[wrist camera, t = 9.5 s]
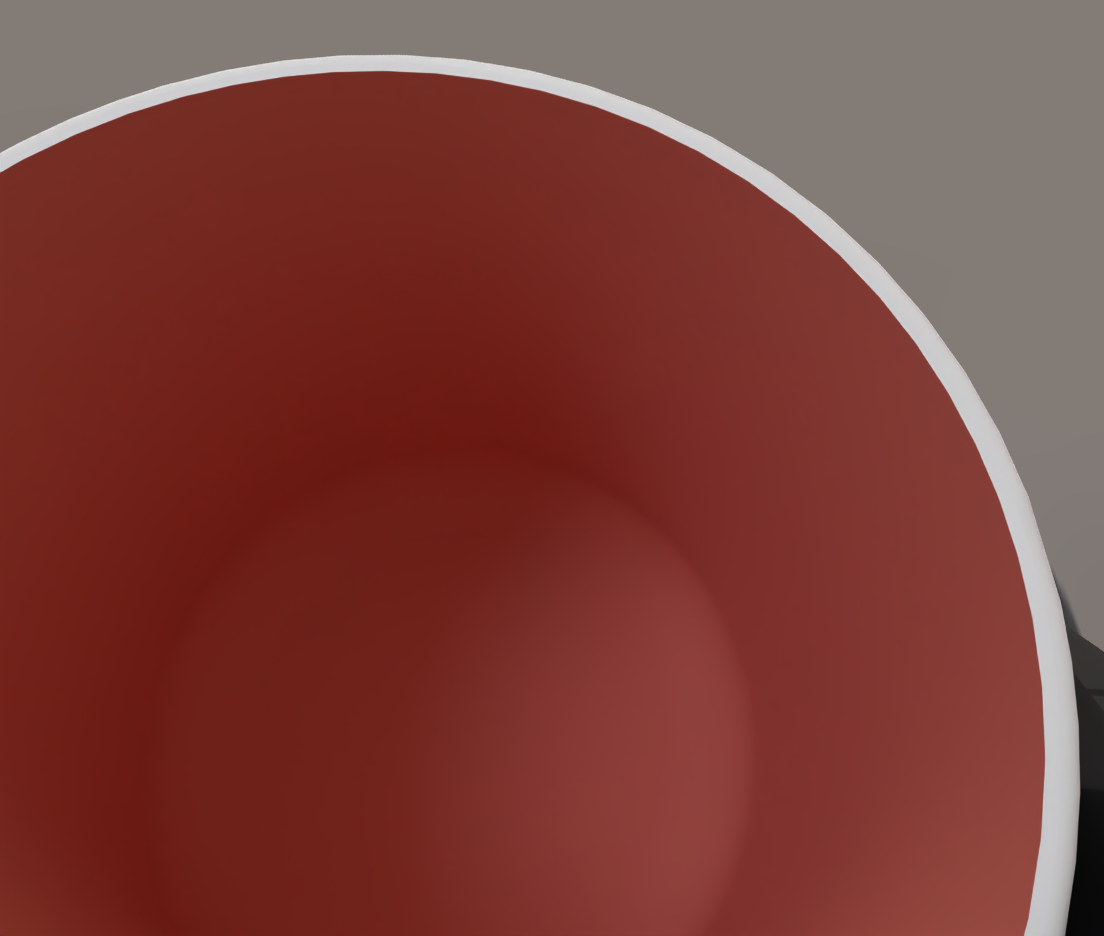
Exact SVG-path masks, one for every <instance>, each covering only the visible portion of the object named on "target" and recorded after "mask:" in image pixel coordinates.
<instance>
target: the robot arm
mask: <svg viewBox="0 0 1104 936" xmlns="http://www.w3.org/2000/svg"><path fill="white" fill-rule="evenodd" d="M1066 633H1067V638H1068V643H1069V649H1070V654H1071V659H1072V667H1073V677H1074V686H1075V696H1076V705H1077V714H1078V724H1079V763H1080V803H1079V819H1078V835H1077V852H1076V865H1075V871H1074V878H1073V885H1072V892H1071V898H1070V905H1069V912H1068V918H1067V925H1066V932H1065V936H1104V652H1103V651H1102V650H1100V649H1099V648H1098V647H1096V646H1095V645H1093V644H1092V643H1090V642H1089V641H1087V640H1086V639H1085V638H1083V637H1082V636H1080V635H1079V634H1077V633H1076V632H1074V631H1073V630H1071V629H1070V628H1066Z"/></svg>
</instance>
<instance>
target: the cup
mask: <svg viewBox="0 0 1104 936" xmlns="http://www.w3.org/2000/svg"><path fill="white" fill-rule="evenodd" d="M1079 803H1080V763H1079V724H1078V714H1077V705H1076V696H1075V686H1074V677H1073V667H1072V659H1071V654H1070V649H1069V643H1068V638H1067V633H1066V627H1065V622H1064V617H1063V611H1062V606H1061V601H1060V598H1059V595H1058V591H1057V588H1056V585H1055V582H1054V578H1053V575H1052V572H1051V569H1050V565H1049V562H1048V559H1047V556H1046V553H1045V549H1044V546H1043V543H1042V539H1041V536H1040V533H1039V530H1038V526H1037V523H1036V520H1035V517H1034V514H1033V511H1032V507H1031V504H1030V500H1029V497H1028V495H1027V493H1026V491H1025V489H1024V486H1023V484H1022V481H1021V479H1020V477H1019V475H1018V472H1017V470H1016V468H1015V466H1014V463H1013V461H1012V459H1011V457H1010V455H1009V452H1008V450H1007V448H1006V446H1005V443H1004V441H1003V439H1002V437H1001V434H1000V432H999V431H998V429H997V427H996V425H995V424H994V422H993V420H992V418H991V417H990V415H989V413H988V411H987V410H986V408H985V406H984V404H983V403H982V401H981V399H980V397H979V396H978V394H977V392H976V390H975V389H974V387H973V385H972V383H971V382H970V380H969V378H968V376H967V375H966V373H965V371H964V370H963V369H962V367H961V366H960V364H959V363H958V361H957V360H956V359H955V357H954V356H953V355H952V353H951V352H950V350H949V349H948V347H947V346H946V345H945V343H944V342H943V341H942V339H941V338H940V336H939V335H938V333H937V332H936V331H935V329H934V328H933V326H932V325H931V323H930V322H929V321H928V319H927V318H926V316H925V315H924V314H923V313H922V312H921V311H920V309H919V308H918V307H917V306H916V305H915V304H914V302H912V300H911V299H910V298H909V297H908V296H907V295H906V293H905V292H904V291H903V290H902V289H901V288H900V287H899V285H898V284H897V283H896V282H895V281H894V280H893V279H892V278H891V276H890V275H889V274H888V273H887V272H886V271H885V269H884V268H883V267H882V266H881V265H880V264H879V263H878V262H877V261H876V260H875V259H874V258H873V257H872V256H871V255H870V254H869V253H867V251H865V250H864V249H863V248H862V247H861V246H860V245H859V244H858V243H857V242H856V241H855V240H854V239H852V238H851V237H850V236H849V235H848V234H847V233H846V232H845V231H844V230H843V229H842V228H841V227H840V226H839V225H837V224H836V223H835V222H834V221H833V220H832V219H831V218H830V217H829V216H828V215H826V214H825V213H824V212H823V211H821V210H820V209H819V208H817V207H816V206H815V205H813V204H812V203H811V202H809V201H808V200H807V199H805V198H804V197H802V196H801V195H800V194H799V193H797V192H796V191H795V190H793V189H792V188H790V187H789V186H788V185H787V184H785V183H784V182H783V181H781V180H780V179H779V178H777V177H776V176H775V175H773V174H772V173H770V172H769V171H767V170H766V169H764V168H762V167H761V166H759V165H757V164H756V163H754V162H752V161H751V160H749V159H747V158H746V157H744V156H742V155H741V154H739V153H738V152H736V151H734V150H733V149H731V148H729V147H727V146H726V145H724V144H723V143H721V142H719V141H718V140H716V139H715V138H713V137H711V136H709V135H706V134H704V133H702V132H700V131H698V130H696V129H694V128H692V127H690V126H688V125H686V124H683V123H681V122H679V121H677V120H675V119H673V118H671V117H669V116H667V115H664V114H662V113H660V112H658V111H656V110H654V109H652V108H648V107H646V106H644V105H641V104H638V103H635V102H632V101H629V100H627V99H624V98H621V97H619V96H616V95H613V94H610V93H607V92H605V91H602V90H599V89H596V88H594V87H591V86H588V85H584V84H579V83H576V82H572V81H568V80H564V79H561V78H557V77H553V76H549V75H545V74H541V73H537V72H534V71H529V70H525V69H519V68H513V67H507V66H500V65H494V64H488V63H482V62H476V61H470V60H462V59H450V58H436V57H423V56H409V55H349V56H348V55H343V56H331V57H319V58H308V59H297V60H286V61H279V62H273V63H266V64H260V65H254V66H248V67H242V68H236V69H230V70H224V71H220V72H216V73H212V74H208V75H204V76H200V77H196V78H192V79H188V80H184V81H180V82H176V83H172V84H168V85H164V86H161V87H158V88H155V89H152V90H149V91H146V92H142V93H139V94H136V95H133V96H130V97H127V98H124V99H121V100H117V101H115V102H112V103H110V104H107V105H105V106H102V107H100V108H97V109H94V110H92V111H89V112H87V113H84V114H82V115H79V116H77V117H74V118H71V119H69V120H67V121H65V122H63V123H60V124H58V125H56V126H54V127H52V128H50V129H48V130H45V131H43V132H41V133H39V134H37V135H35V136H33V137H31V138H28V139H26V140H24V141H22V142H20V143H18V144H16V145H14V146H13V147H11V148H9V149H7V150H5V151H4V152H2V153H0V936H1065V932H1066V925H1067V918H1068V912H1069V905H1070V898H1071V892H1072V885H1073V878H1074V871H1075V865H1076V852H1077V835H1078V819H1079Z"/></svg>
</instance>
